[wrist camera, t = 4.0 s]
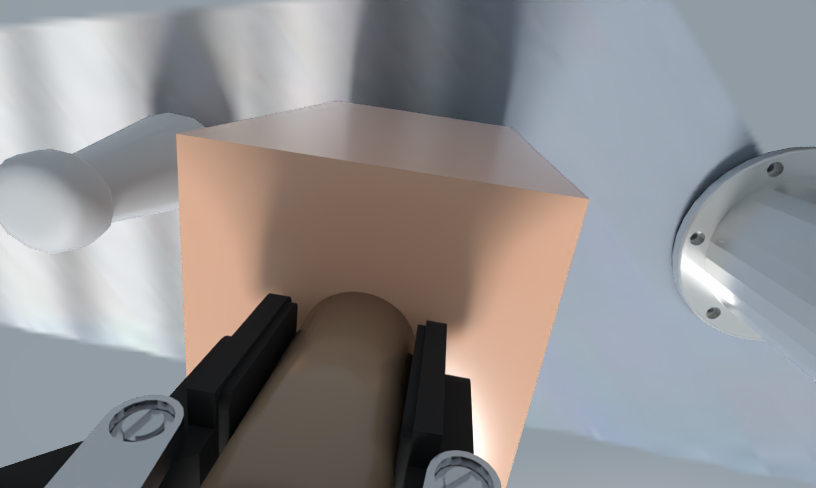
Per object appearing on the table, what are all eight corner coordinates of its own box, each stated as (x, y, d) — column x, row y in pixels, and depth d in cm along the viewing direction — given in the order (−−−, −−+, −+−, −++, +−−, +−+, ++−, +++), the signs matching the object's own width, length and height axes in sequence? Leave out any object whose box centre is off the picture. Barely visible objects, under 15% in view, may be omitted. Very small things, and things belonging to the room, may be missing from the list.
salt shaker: (147, 108, 29) (-66, 131, 17) (233, 110, 29) (78, 136, 17) (162, 196, 31) (-19, 273, 19) (243, 200, 31) (110, 280, 19)
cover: (511, 127, 26) (738, 336, 5) (477, 286, 29) (528, 791, 9) (337, 100, 26) (-112, 192, 5) (324, 260, 30) (23, 680, 9)
